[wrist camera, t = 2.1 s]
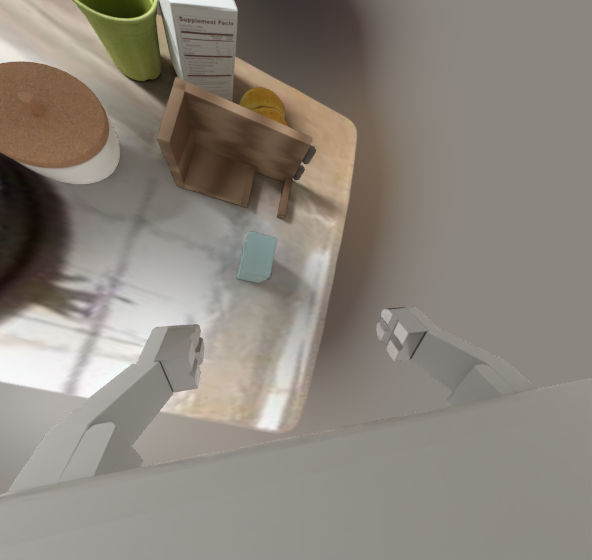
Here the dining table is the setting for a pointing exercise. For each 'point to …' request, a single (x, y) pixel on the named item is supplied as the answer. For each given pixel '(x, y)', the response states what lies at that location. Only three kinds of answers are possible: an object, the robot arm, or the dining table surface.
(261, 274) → the pale teal box
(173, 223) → the dining table surface
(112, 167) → the lidded jar
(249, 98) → the bread roll
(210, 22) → the supplement box
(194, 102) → the carcass
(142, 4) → the plant pot
